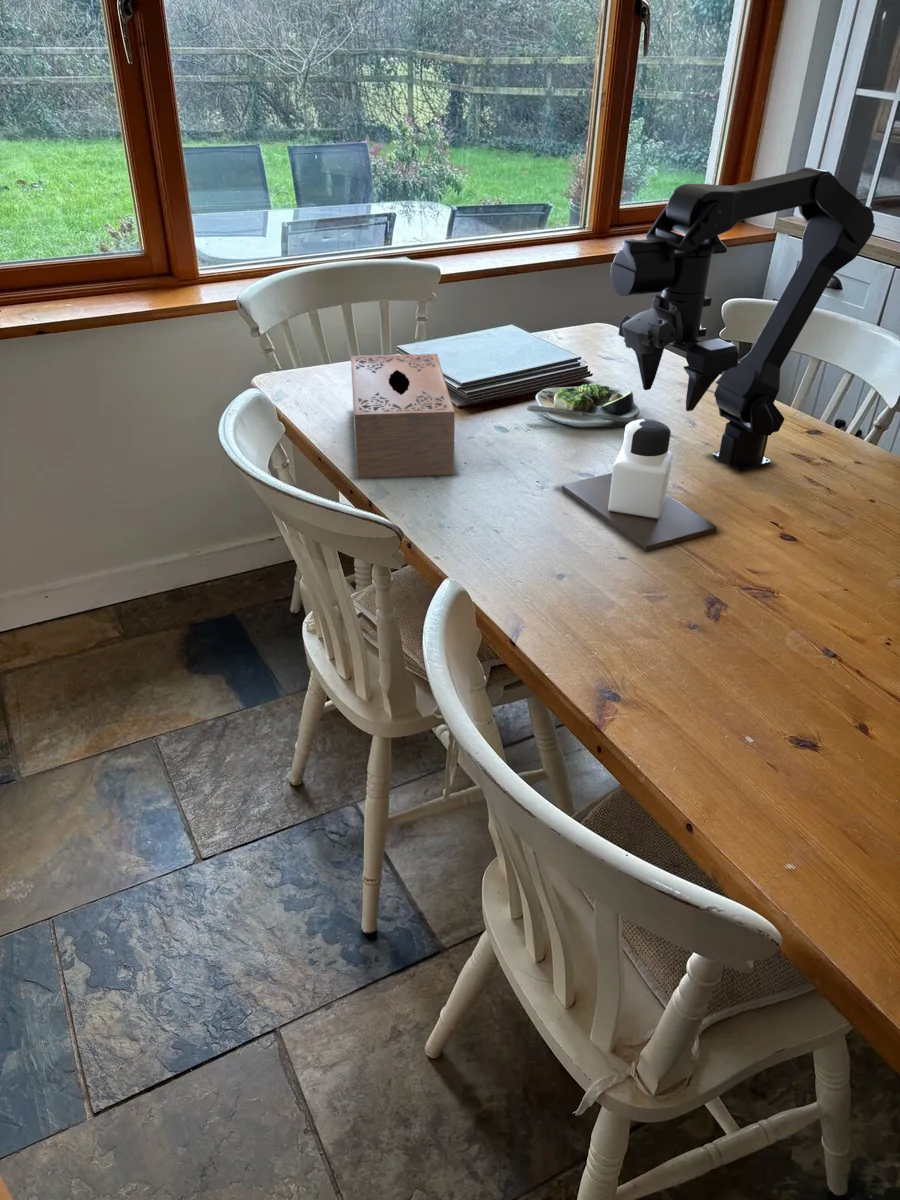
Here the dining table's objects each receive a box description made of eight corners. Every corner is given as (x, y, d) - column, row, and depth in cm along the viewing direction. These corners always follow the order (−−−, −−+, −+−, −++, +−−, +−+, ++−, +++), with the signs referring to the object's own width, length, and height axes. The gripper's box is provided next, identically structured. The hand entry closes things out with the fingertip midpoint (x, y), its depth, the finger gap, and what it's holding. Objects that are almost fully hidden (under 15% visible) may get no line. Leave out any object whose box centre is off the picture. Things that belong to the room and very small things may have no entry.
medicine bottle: (666, 497, 130) (679, 418, 123) (659, 520, 124) (672, 438, 117) (616, 489, 132) (626, 411, 125) (607, 511, 126) (617, 430, 119)
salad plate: (537, 436, 149) (539, 410, 147) (513, 397, 164) (515, 372, 161) (649, 430, 152) (653, 404, 149) (616, 392, 167) (619, 367, 164)
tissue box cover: (353, 412, 157) (350, 355, 151) (436, 410, 158) (436, 353, 153) (357, 478, 135) (354, 414, 130) (453, 474, 137) (454, 411, 131)
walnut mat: (627, 474, 138) (628, 469, 137) (716, 531, 123) (717, 526, 123) (561, 489, 133) (561, 484, 133) (645, 551, 118) (646, 546, 118)
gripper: (594, 279, 125) (583, 388, 134) (685, 314, 112) (667, 433, 120) (657, 270, 130) (642, 376, 138) (752, 303, 116) (729, 418, 125)
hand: (667, 399), depth 130 cm, fingers open, 9 cm apart
